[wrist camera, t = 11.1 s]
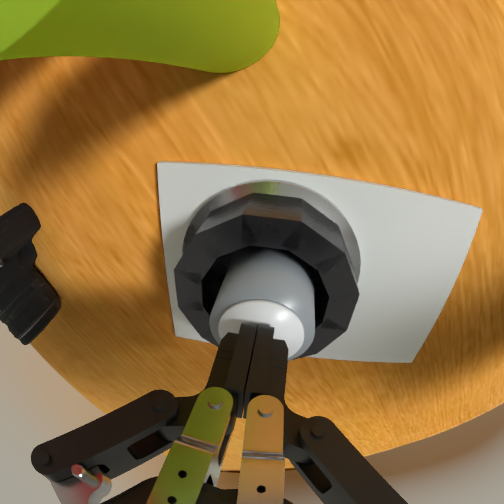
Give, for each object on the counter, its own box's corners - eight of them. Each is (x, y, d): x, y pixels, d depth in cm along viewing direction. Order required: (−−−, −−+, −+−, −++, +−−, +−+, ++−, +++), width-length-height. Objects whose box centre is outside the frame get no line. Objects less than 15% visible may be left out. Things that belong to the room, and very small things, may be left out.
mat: (479, 207, 14) (482, 209, 14) (410, 359, 21) (411, 362, 21) (160, 161, 16) (157, 162, 16) (177, 332, 23) (175, 336, 23)
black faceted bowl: (378, 194, 15) (395, 220, 12) (336, 337, 20) (339, 375, 17) (181, 172, 16) (153, 192, 13) (190, 317, 22) (175, 351, 19)
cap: (319, 239, 16) (325, 301, 12) (306, 307, 19) (305, 373, 14) (230, 230, 17) (205, 286, 12) (230, 298, 19) (210, 360, 15)
